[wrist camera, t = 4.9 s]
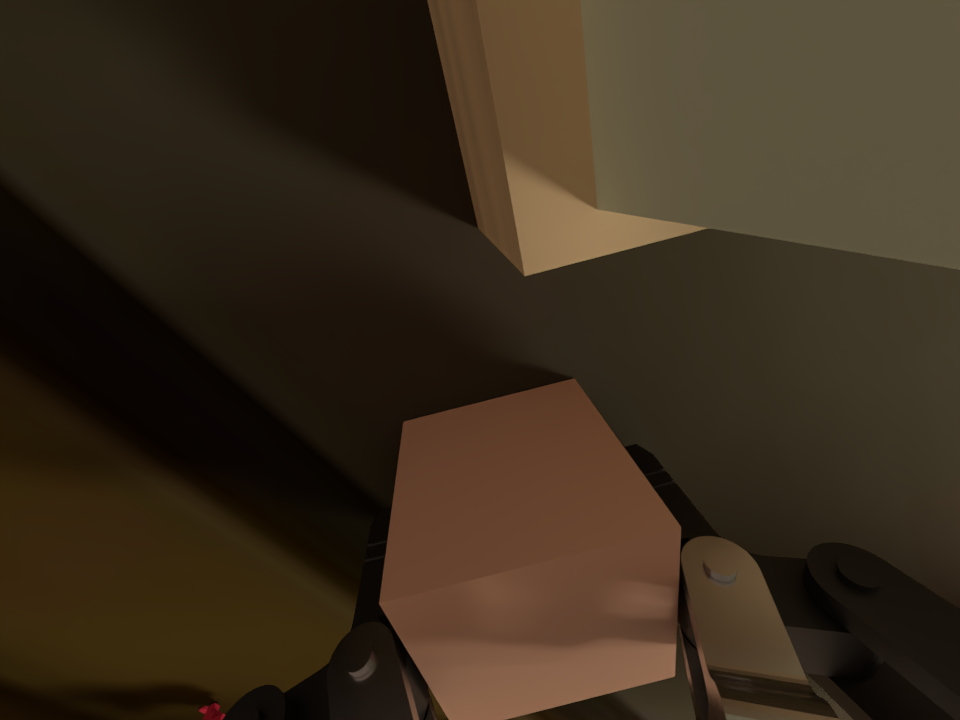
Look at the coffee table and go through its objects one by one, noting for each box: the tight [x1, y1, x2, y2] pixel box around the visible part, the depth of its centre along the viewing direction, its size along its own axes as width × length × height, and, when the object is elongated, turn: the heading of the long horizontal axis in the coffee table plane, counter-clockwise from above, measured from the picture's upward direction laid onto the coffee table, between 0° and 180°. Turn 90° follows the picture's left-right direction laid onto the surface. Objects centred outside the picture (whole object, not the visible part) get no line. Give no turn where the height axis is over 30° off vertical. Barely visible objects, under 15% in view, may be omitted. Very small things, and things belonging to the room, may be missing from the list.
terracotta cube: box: [379, 378, 681, 720], centre depth 9 cm, size 5×5×5 cm
